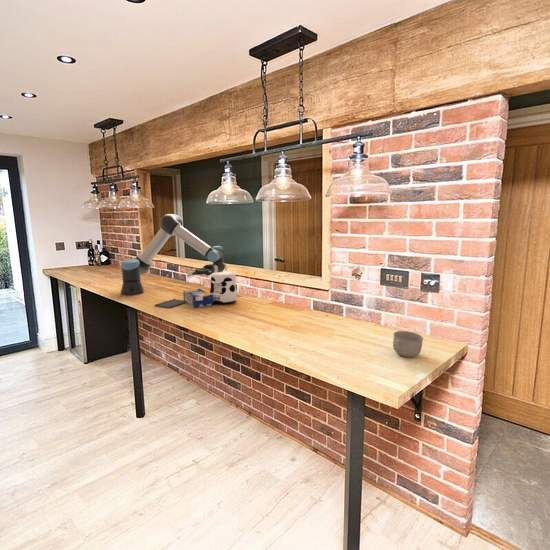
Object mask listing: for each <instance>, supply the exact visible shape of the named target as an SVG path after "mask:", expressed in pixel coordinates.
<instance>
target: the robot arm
mask: <svg viewBox="0 0 550 550" xmlns="http://www.w3.org/2000/svg"><path fill="white" fill-rule="evenodd" d="M183 221H184V220H183V219H182V217H181V216H180V215H179V214H177V213H176V214H175V213H172V214H171V213H167V214H164V215H163V216H162V217H161V218H160V222H159V223H160V225H159V230H158V231H157V232H156V234H155V235H154V237H152V239H151V241H149V243H148V244H147V246H146V247H145V249H144V250H143V251H142V253H138V254H137V256H136V257H135V258H129V259H125V260H123V261H122V262H121V274H122V276H121V277H122V285H121V289H120V295H122V294H125V295H124V296H134V295H141V294H143V293H144V292H145V290H144V287H143V284H142V282H141V276H143V275H145V274H147V273H148V272H149V271H150V268H151V266H152V265H153V263H152V262H153V259H154V258H155V257H156V255H158V253H159V252H160V250H161V249H162V248H163V247H164V245H165V244H166V243H167V241H168V240H169V239H170V237H173V236H175V237H177V238H178V239H180V240H181V241H183V242H184V243H186V244H187V245H188V246H190V247H191V248H193V249H194V250H196V251H197V252H198V253H200V254H202V255H203V256H204V257H205V258H207V260H208V262H211V263H209V264H205V265H204V266H203V267H201V268H194V269H192V270H190V271H187V273H186V274H187V277H193V276H198V275H199V276H201V275H206V276H211V274H212V273H218V272H224V271H223V270H224V269H225V267H226V268H227V264H226V263H225V262H224V250H223V249H224V248H223V246H222V245H221V246H220V245H214V246H210V245H208V243H206V242H205V241H203V240H202V239H200V238H199V237H198V236H196V235H194V233H192V232H190V231H189V230H188V229H186V228H185V227H183V224H184V222H183ZM225 270H226V269H225Z"/></svg>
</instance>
